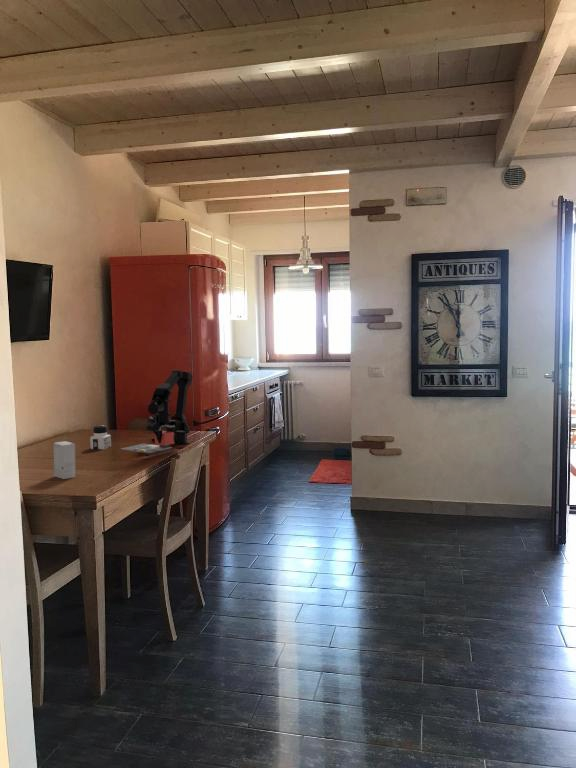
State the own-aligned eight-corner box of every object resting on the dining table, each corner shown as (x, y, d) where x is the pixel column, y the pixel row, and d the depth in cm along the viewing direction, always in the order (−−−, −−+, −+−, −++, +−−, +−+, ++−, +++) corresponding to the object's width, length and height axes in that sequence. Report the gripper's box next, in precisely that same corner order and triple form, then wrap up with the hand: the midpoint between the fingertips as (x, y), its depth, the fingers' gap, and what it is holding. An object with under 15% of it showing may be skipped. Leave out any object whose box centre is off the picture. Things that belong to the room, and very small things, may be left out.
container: (104, 452, 318) (103, 427, 317) (90, 451, 320) (89, 426, 318) (111, 449, 326) (110, 424, 324) (97, 448, 327) (96, 424, 326)
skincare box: (53, 476, 268) (51, 442, 266) (66, 474, 272) (64, 440, 271) (64, 479, 262) (62, 445, 261) (77, 476, 267) (75, 442, 265)
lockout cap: (163, 442, 324) (163, 430, 323) (173, 443, 319) (173, 431, 319) (155, 444, 318) (154, 432, 318) (164, 445, 314) (164, 433, 314)
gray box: (163, 446, 322) (163, 440, 321) (169, 446, 319) (169, 441, 319) (159, 447, 319) (159, 441, 319) (165, 447, 317) (164, 442, 316)
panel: (143, 446, 332) (143, 442, 332) (172, 450, 319) (172, 446, 319) (119, 451, 319) (119, 447, 319) (149, 456, 306) (149, 452, 306)
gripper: (165, 408, 330) (166, 437, 331) (138, 413, 314) (139, 443, 316) (180, 409, 323) (181, 439, 325) (153, 414, 308) (154, 445, 310)
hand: (164, 441), depth 319 cm, fingers closed on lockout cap, 6 cm apart
